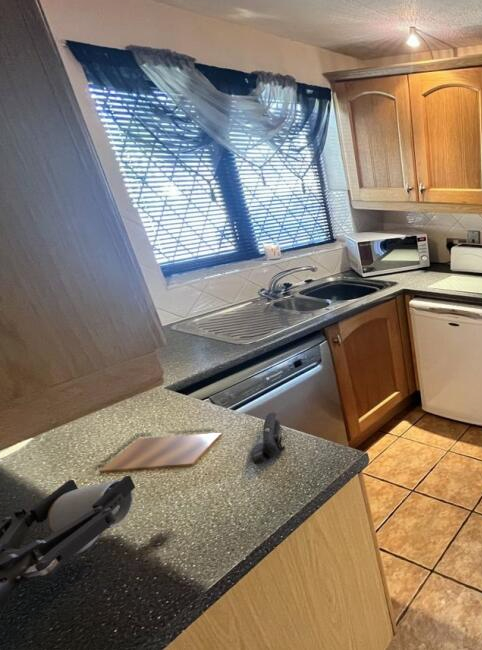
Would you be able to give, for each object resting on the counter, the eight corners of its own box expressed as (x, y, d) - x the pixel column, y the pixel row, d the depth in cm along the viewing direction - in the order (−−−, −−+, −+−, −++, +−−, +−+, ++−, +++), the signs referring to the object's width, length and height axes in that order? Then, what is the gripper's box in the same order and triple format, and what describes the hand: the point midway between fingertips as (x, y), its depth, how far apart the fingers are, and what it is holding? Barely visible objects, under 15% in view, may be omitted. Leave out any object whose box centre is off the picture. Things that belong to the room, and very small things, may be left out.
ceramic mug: (86, 511, 71) (68, 480, 68) (139, 501, 73) (123, 470, 70) (38, 566, 61) (14, 532, 58) (100, 552, 63) (80, 519, 60)
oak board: (99, 472, 87) (98, 470, 86) (139, 440, 97) (138, 438, 97) (193, 465, 88) (192, 463, 88) (222, 434, 98) (221, 432, 98)
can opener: (286, 460, 89) (280, 441, 87) (251, 470, 86) (244, 450, 84) (290, 418, 104) (285, 401, 102) (260, 426, 101) (255, 408, 99)
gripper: (-138, 650, 49) (47, 504, 70) (46, 631, 50) (172, 494, 72) (-176, 612, 46) (28, 472, 67) (19, 593, 48) (158, 462, 69)
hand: (102, 483), depth 69 cm, fingers closed on ceramic mug, 9 cm apart
